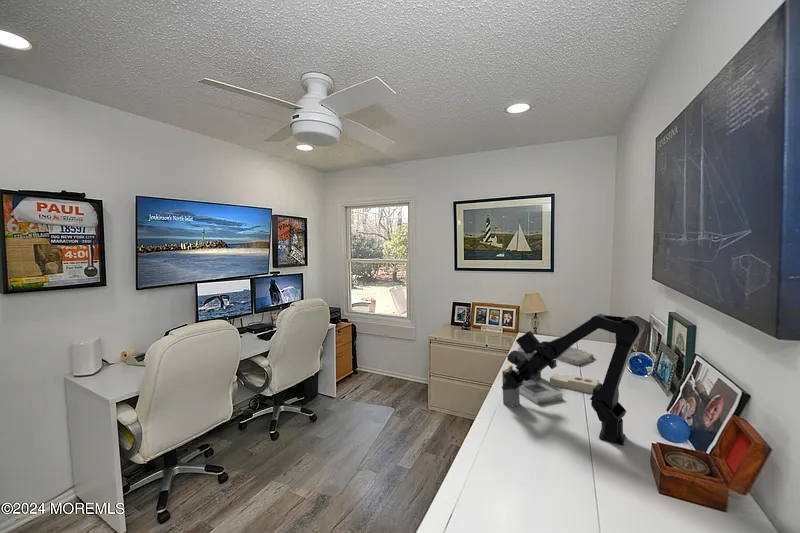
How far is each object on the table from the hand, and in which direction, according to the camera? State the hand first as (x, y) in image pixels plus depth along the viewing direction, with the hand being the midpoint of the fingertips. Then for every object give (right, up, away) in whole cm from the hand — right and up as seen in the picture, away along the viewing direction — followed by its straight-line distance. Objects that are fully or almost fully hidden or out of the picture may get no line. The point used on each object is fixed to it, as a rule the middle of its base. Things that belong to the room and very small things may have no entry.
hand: (508, 385), depth 131 cm
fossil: (+51, -4, +49) cm, 71 cm away
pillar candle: (+18, -6, +25) cm, 31 cm away
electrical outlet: (+33, -6, +13) cm, 36 cm away
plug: (+1, -7, 0) cm, 7 cm away
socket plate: (+14, -6, +7) cm, 17 cm away
